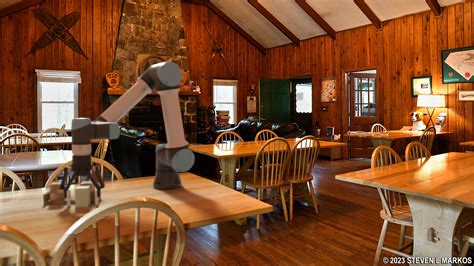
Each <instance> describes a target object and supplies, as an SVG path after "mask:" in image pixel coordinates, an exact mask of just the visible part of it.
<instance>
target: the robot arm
mask: <svg viewBox="0 0 474 266" xmlns="http://www.w3.org/2000/svg"><path fill="white" fill-rule="evenodd" d="M182 79H183V72H182V70H181V67H179V66H178V64H177V63H174V62H172V61H163V62H159V63H156V64H155V63H154V64H152V65H151V66H149V67H147V69H146V70H145V71H143V73H142V74H140V76H139V77H138V78H137V79H136V82H135V84H133V85H132V86H131V87H130V88H129V89H127V90H126V92H124V93H123V94H122V95H121V96H119V98H118V99H116V100H115V102H113V103H112V104H111V105H110V106H108V108H107V109H106V110H105V111H104V112H102V113H101V114H100V115H99V116H98V117H96V118H95V120H91V119H90V118H89V117H75V118H72V119H71V127H70V129H71V131H70V132H71V154H72V158H71V159H72V160H71V161H72V163H71V164H72V165H71V166H68V165H67V166H65V167H64V168H63V169H64V171H63V172H64V173H63V175H62V176H63V177H62V179H61V181H60V182H61V184H60V187H59V189H60V190H64V197H65V198H67V204H66V207H70V206H71V205H72V204H71V196H72V195H71V194H72V193H71V189H70V187H71V186H72V184H73V182H74V181H75V180H76V178H77V177H81V176H82V177H87V178H88V179H89V181H91V182H92V183H93V185H94V186H95V203H94V205H95V206H98V205H99V201H98V197H100V196H101V197H102V195H101V194H102V192H101V191H102V189H104V188H105V187H106V184H105V182H104V178H103V176H102V173H101V171H100V165H95V166H94V165H93V164H92V154H91V153H92V141H94V140H95V141H96V140H115V139H116V140H117V139H119V137H120V134H121V133H120V132H121V130H120V129H121V128H120V125H119V123H118V122H119V121H120V119H122V118H123V117H125V115H126V114H128V112H130V111H131V110H132V109H133V108H134V107H135V106H137V104H138V103H139V102H140V101H142V99H143V98H144V97H145V96H147V94H150V95H151V93H153V92H154V91H155V92H156V93H157V94H158V95H159V97H160V103H161V108H162V114H163V121H164V127H165V134H166V140H167V143H163V144H162V143H161V144H157V145H156V147H155V176H154V179H153V182H152V187H153V189H156V190H175V189H179V188H182V182H183V181H182V179H181V176H180V173H185V172H187V171H189V170H191V168H192V167H193V165H194V164H195V159H196V157H195V154H194V153H193V151H192V150H191V149H190V146H189V145H190V144H189V142H188V141H187V140H186V138H185V132H184V127H183V126H184V125H183V119H182V118H183V117H182V112H181V106H180V105H181V104H180V101H179V100H180V99H179V98H180V97H179V92H180V90H181V81H182ZM92 170H93V171H94V172H95V174H96V177H97V179H96V178H95V177H94V175H93V173H92ZM71 171H72V172H73V174H72V175H71V178H70V179H69V181H68V182H67V180H68V178H69V177H68V176H69V174H70V172H71ZM179 172H180V173H179ZM97 180H98V181H97ZM66 182H67V183H66ZM98 182H99V183H98ZM65 183H66V187H64V186H65Z"/></svg>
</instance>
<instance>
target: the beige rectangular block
mask: <svg viewBox="0 0 474 266" xmlns="http://www.w3.org/2000/svg"><path fill="white" fill-rule="evenodd" d="M74 196H75V204H74V205H75V208H88V207H89V206H90V205H91V204H92V203H91V199H90V186H80V185H77V186H76V187H75V188H74Z"/></svg>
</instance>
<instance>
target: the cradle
mask: <svg viewBox="0 0 474 266" xmlns="http://www.w3.org/2000/svg"><path fill="white" fill-rule="evenodd" d="M60 184H61V181H53V182H52V183H50V184H49V190H48V191H46V192H45V193H44V194H43V195H42V197H43V206H45V205H46V206H48V205H49V206H50V205H52V206H53V205H67V198H65V197H64V190H60V189H59V187H60ZM66 185H67V183H65V186H64V187H66ZM79 186H90V199H91V204H95V190H96V187H95V186H94V185H93V183H92V182H91V180H86V181H82V182H81V183H79ZM101 198H102V195H101V196H100V197H98V202H100V200H101ZM71 205H75V195H71Z"/></svg>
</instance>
